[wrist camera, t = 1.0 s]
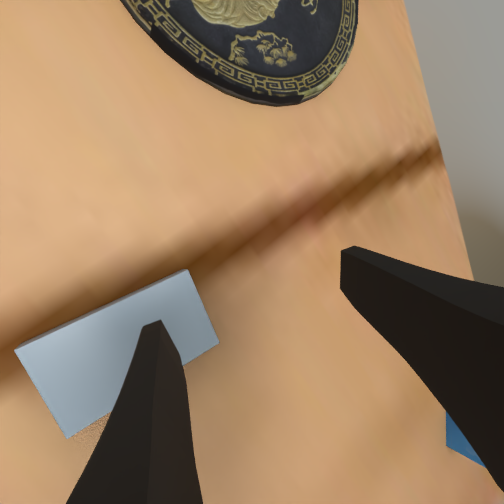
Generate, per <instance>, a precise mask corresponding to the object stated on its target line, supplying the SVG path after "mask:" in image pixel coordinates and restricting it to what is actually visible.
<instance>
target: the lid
mask: <svg viewBox="0 0 504 504" xmlns="http://www.w3.org/2000/svg"><path fill="white" fill-rule="evenodd" d="M160 319H161V320H162V322H163V324H164V326H165V328H166V330H167V331H168V333H169V335H170V337H171V339H172V341H173V343H174V344H175V346H176V348H177V350H178V352H179V354H180V357H181V361H182V365H183V366H184V365H185V364H187V363H188V362H190V361H191V360H193V359H195V358H196V357H198V356H199V355H201V354H202V353H204V352H206V351H207V350H209V349H210V348H212V347H214V346H215V345H217V344H218V343H220V342H219V340H218V338H217V335H216V333H215V331H214V329H213V326H212V324H211V322H210V319H209V317H208V315H207V312H206V310H205V308H204V306H203V303H202V301H201V299H200V296H199V294H198V292H197V290H196V287H195V285H194V283H193V280H192V278H191V276H190V274H189V271H188V270H187V269H182V270H180V271H178V272H176V273H174V274H171V275H169V276H167V277H165V278H163V279H160V280H158V281H156V282H154V283H152V284H150V285H147V286H145V287H143V288H141V289H139V290H137V291H134V292H132V293H130V294H128V295H126V296H123V297H121V298H119V299H117V300H115V301H113V302H110V303H108V304H106V305H104V306H102V307H100V308H97V309H95V310H93V311H91V312H89V313H86V314H84V315H82V316H80V317H78V318H76V319H73V320H71V321H69V322H67V323H65V324H63V325H60V326H58V327H56V328H54V329H52V330H50V331H47V332H45V333H43V334H41V335H39V336H36V337H34V338H32V339H30V340H28V341H26V342H23V343H21V344H20V345H19V346H18V347H17V348H16V349H15V350H14V351H15V353H16V354H17V356H18V358H19V359H20V361H21V363H22V364H23V366H24V368H25V369H26V371H27V373H28V374H29V376H30V378H31V380H32V381H33V383H34V385H35V386H36V388H37V390H38V391H39V393H40V395H41V396H42V398H43V400H44V402H45V403H46V405H47V407H48V408H49V410H50V412H51V413H52V415H53V417H54V418H55V420H56V422H57V423H58V425H59V427H60V429H61V430H62V432H63V434H64V435H65V437H66V439H68V438H70V437H71V436H73V435H74V434H76V433H77V432H79V431H81V430H82V429H84V428H85V427H87V426H89V425H90V424H92V423H93V422H95V421H96V420H98V419H100V418H101V417H103V416H104V415H106V414H108V413H109V412H111V411H112V410H113V407H114V405H115V403H116V400H117V398H118V395H119V393H120V390H121V388H122V385H123V383H124V380H125V377H126V374H127V372H128V369H129V366H130V363H131V360H132V357H133V355H134V351H135V348H136V345H137V342H138V339H139V335H140V332H141V329H142V327H143V326H144V325H147V324H150V323H152V322H155V321H158V320H160Z"/></svg>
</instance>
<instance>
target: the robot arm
mask: <svg viewBox="0 0 504 504" xmlns="http://www.w3.org/2000/svg"><path fill="white" fill-rule="evenodd" d="M340 289H341V291H342V292H343V293H344V295H345V296H346V297H347V299H348V300H349V301H350V303H351V304H352V305H353V306H354V308H355V309H356V310H357V311H358V312H359V313H360V314H361V315H362V316H363V317H364V318H365V319H366V320H367V321H368V322H369V323H370V324H371V325H372V326H373V327H374V328H375V329H376V330H377V331H378V332H379V333H380V334H381V335H382V336H383V337H384V338H385V339H386V340H387V341H388V342H389V343H390V344H391V345H392V346H393V347H394V348H395V349H396V350H397V352H398V353H399V354H400V355H401V356H402V357H403V358H404V359H405V360H406V361H407V363H408V364H409V365H410V366H411V367H412V369H413V370H414V371H415V372H416V374H417V375H418V376H419V377H420V378H421V380H422V381H423V382H424V383H425V385H426V386H427V387H428V388H429V390H430V391H431V392H432V394H433V395H434V396H435V397H436V399H437V400H438V401H439V402H440V404H441V405H442V406H443V408H444V409H445V410H446V412H447V413H448V414H449V416H450V417H451V419H452V420H453V421H454V423H455V424H456V425H457V427H458V428H459V429H460V431H461V432H462V434H463V435H464V436H465V438H466V439H467V441H468V442H469V443H470V445H471V446H472V448H473V449H474V451H475V452H476V454H477V455H478V457H479V458H480V460H481V461H482V462H483V464H484V465H485V467H486V468H487V470H488V471H489V473H490V474H491V476H492V477H493V479H494V481H495V482H496V484H497V485H498V486H499V488H500V489H501V490H502V491H503V492H504V288H503V287H498V286H494V285H488V284H484V283H479V282H475V281H471V280H466V279H462V278H458V277H454V276H450V275H446V274H443V273H439V272H436V271H432V270H429V269H425V268H422V267H419V266H415V265H412V264H409V263H406V262H403V261H400V260H397V259H394V258H391V257H388V256H385V255H382V254H379V253H376V252H373V251H370V250H367V249H364V248H361V247H357V246H352V247H349V248H347V249H344V250H341V272H340ZM66 504H203V500H202V495H201V490H200V485H199V480H198V475H197V470H196V464H195V457H194V450H193V441H192V431H191V422H190V412H189V403H188V394H187V385H186V379H185V374H184V370H183V365H182V361H181V357H180V354H179V352H178V350H177V348H176V346H175V344H174V343H173V341H172V339H171V337H170V335H169V333H168V331H167V330H166V328H165V326H164V324H163V322H162V320H161V319H160V320H158V321H155V322H152V323H150V324H147V325H144V326H143V327H142V329H141V332H140V335H139V339H138V342H137V345H136V348H135V351H134V355H133V357H132V360H131V363H130V366H129V369H128V372H127V374H126V377H125V380H124V383H123V385H122V388H121V390H120V393H119V395H118V398H117V400H116V403H115V405H114V407H113V410H112V412H111V414H110V417H109V419H108V421H107V424H106V426H105V428H104V430H103V432H102V435H101V437H100V439H99V441H98V443H97V445H96V447H95V449H94V451H93V453H92V455H91V457H90V459H89V461H88V463H87V465H86V467H85V469H84V471H83V473H82V475H81V477H80V478H79V480H78V482H77V484H76V486H75V488H74V489H73V491H72V493H71V495H70V497H69V499H68V500H67V502H66Z"/></svg>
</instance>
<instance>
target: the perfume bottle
mask: <svg viewBox="0 0 504 504" xmlns="http://www.w3.org/2000/svg"><path fill="white" fill-rule="evenodd" d="M446 446H448V447H449V448H451V449H453V450H455V451H457V452H458V453H460V454H462V455H464V456H466V457H467V458H469V459H471V460H473V461H475V462H476V463H478V464H480V465H482V466H484V467H485V465H484V464H483V462H482V461H481V460H480V458H479V457H478V455H477V454H476V452H475V451H474V449H473V448H472V446H471V445H470V443H469V442H468V441H467V439H466V438H465V436H464V435H463V434H462V432H461V431H460V429H459V428H458V427H457V425H456V424H455V423H454V421H453V420H452V419H451V417H450V416H449V414H448V413H447V412H446ZM485 468H486V467H485Z"/></svg>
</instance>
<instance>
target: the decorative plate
mask: <svg viewBox="0 0 504 504" xmlns="http://www.w3.org/2000/svg"><path fill="white" fill-rule="evenodd" d="M120 1H121V2H122V3H123V5H124V6H125V8H126V9H127V10H128V12H129V13H130V14H131V16H132V17H133V19H134V20H135V21H136V23H137V24H138V25H139V26H140V27H141V28H142V29H143V30H144V31H145V32H146V33H147V34H148V35H149V36H150V37H151V38H152V39H153V40H154V41H155V42H156V44H157V45H158V46H159V47H160V48H161V49H162V50H163V51H164V52H165V53H166V54H167V55H169V56H170V57H171V58H172V59H174V60H175V61H176V62H178V63H179V64H180V65H181V66H183V67H184V68H185V69H186V70H188V71H189V72H190V73H191V74H193V75H194V76H195V77H197V78H199V79H200V80H202V81H204V82H206V83H207V84H209V85H211V86H213V87H214V88H216V89H218V90H220V91H221V92H223V93H225V94H228V95H231V96H233V97H236V98H239V99H242V100H245V101H247V102H250V103H254V104H262V105H269V106H276V107H277V106H286V105H295V104H299V103H302V102H304V101H306V100H309V99H311V98H314V97H316V96H317V95H319V94H320V93H321V92H322V91H324V90H325V89H326V88H327V87H328V86H330V85H331V84H332V83H333V81H334V80H335V79H336V77H337V76H338V74H339V73H340V72H341V70H342V69H343V67H344V66H345V64H346V63H347V60H348V58H349V55H350V53H351V50H352V48H353V45H354V40H355V35H356V29H357V24H358V0H120Z"/></svg>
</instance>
